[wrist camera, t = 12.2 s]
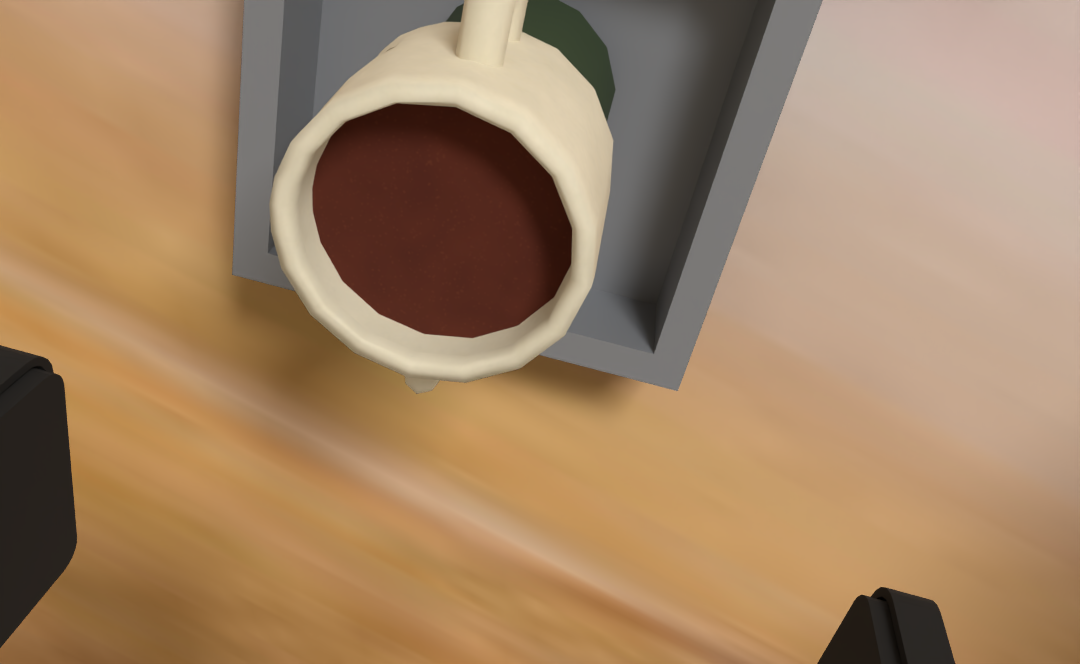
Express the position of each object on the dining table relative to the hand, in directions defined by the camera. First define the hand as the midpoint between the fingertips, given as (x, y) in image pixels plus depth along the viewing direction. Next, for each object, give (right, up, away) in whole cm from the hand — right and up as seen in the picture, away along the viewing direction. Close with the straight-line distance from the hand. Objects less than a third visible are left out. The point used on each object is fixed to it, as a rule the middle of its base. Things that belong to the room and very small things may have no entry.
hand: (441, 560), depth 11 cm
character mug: (+1, +11, +20) cm, 23 cm away
